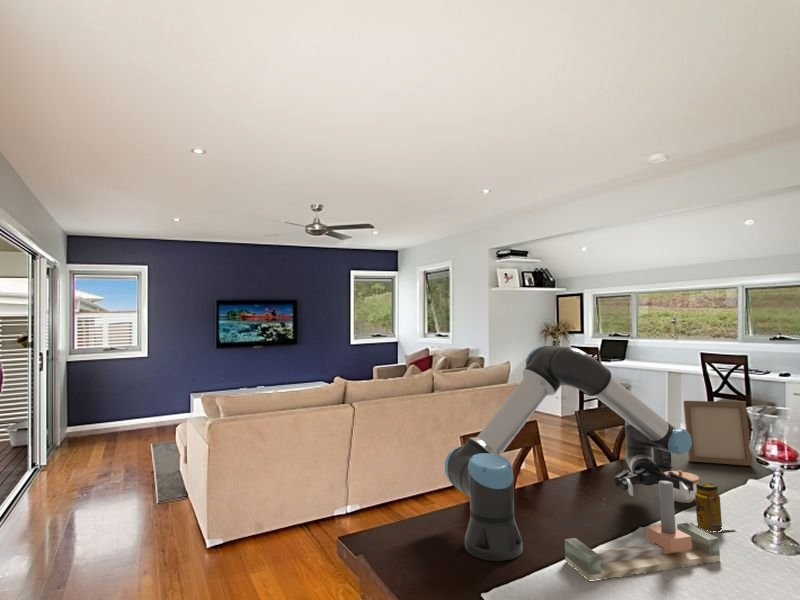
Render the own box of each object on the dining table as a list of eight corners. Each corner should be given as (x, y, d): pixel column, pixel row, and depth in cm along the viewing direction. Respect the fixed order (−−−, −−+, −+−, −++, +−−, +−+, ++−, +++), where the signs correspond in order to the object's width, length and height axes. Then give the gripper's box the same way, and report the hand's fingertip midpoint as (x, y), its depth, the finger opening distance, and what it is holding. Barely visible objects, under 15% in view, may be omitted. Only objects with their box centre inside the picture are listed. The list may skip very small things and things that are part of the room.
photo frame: (753, 468, 194) (749, 404, 195) (690, 463, 202) (686, 402, 204) (744, 458, 207) (740, 399, 209) (685, 454, 216) (681, 397, 217)
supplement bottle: (672, 464, 201) (670, 435, 202) (671, 469, 195) (669, 438, 196) (653, 462, 205) (652, 433, 205) (652, 467, 199) (650, 437, 200)
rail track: (589, 582, 112) (588, 557, 112) (565, 562, 122) (564, 539, 122) (720, 561, 120) (718, 538, 120) (687, 544, 130) (686, 522, 130)
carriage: (671, 557, 118) (667, 488, 119) (647, 543, 126) (644, 479, 127) (692, 553, 119) (688, 486, 120) (667, 540, 127) (664, 476, 128)
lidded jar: (691, 507, 155) (690, 477, 155) (657, 498, 163) (655, 470, 164) (706, 500, 161) (704, 471, 161) (672, 491, 170) (671, 464, 170)
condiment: (690, 523, 143) (687, 481, 144) (717, 521, 144) (714, 479, 144) (708, 533, 136) (705, 489, 136) (736, 531, 136) (733, 487, 137)
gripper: (690, 484, 149) (712, 510, 129) (602, 479, 156) (609, 503, 136) (689, 459, 149) (710, 481, 129) (601, 455, 157) (608, 475, 136)
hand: (658, 492), depth 132 cm, fingers open, 13 cm apart
